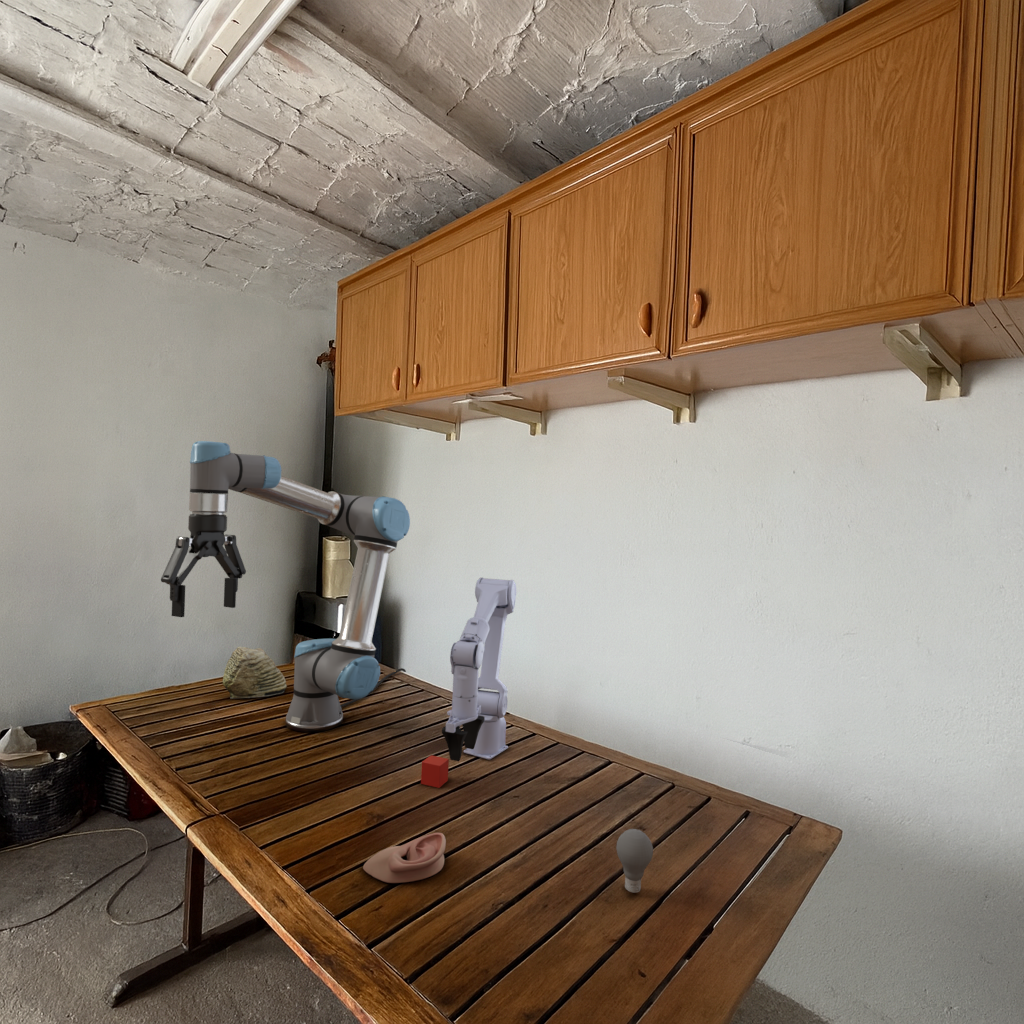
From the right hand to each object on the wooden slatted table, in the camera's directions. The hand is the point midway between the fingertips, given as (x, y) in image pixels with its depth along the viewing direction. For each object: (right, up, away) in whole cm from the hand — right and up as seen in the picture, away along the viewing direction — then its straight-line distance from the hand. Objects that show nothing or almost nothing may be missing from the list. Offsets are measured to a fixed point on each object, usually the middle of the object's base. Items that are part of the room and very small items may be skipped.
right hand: (462, 753), depth 144 cm
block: (-6, -6, -1) cm, 9 cm away
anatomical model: (-7, -7, -34) cm, 35 cm away
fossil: (-69, -2, +54) cm, 88 cm away
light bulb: (+31, -9, -38) cm, 50 cm away
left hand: (-55, +33, -7) cm, 65 cm away
